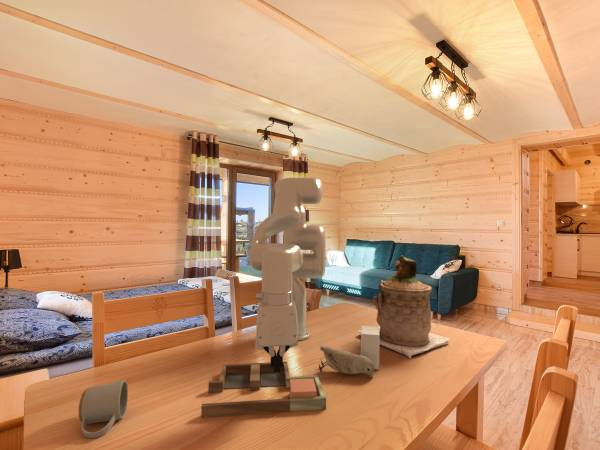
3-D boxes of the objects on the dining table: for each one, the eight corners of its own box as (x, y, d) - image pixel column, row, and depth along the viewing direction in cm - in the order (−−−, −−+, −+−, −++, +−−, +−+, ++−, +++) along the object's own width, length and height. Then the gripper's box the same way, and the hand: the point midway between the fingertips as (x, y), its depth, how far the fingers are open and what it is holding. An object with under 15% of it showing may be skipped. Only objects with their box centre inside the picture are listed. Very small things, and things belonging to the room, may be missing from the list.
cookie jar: (452, 343, 114) (454, 256, 113) (410, 360, 100) (411, 260, 99) (396, 324, 134) (398, 250, 134) (355, 336, 120) (356, 253, 120)
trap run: (214, 373, 90) (214, 365, 90) (311, 368, 94) (311, 360, 94) (201, 417, 70) (201, 406, 70) (326, 408, 74) (326, 398, 74)
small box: (379, 370, 93) (379, 335, 93) (360, 368, 94) (360, 333, 94) (378, 358, 101) (378, 326, 101) (360, 357, 102) (361, 324, 102)
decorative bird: (373, 383, 86) (373, 356, 86) (316, 374, 91) (316, 348, 90) (374, 374, 91) (374, 348, 91) (320, 366, 96) (321, 341, 96)
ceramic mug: (88, 411, 72) (88, 379, 71) (128, 405, 74) (128, 373, 74) (70, 444, 62) (69, 406, 61) (117, 436, 64) (117, 399, 64)
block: (289, 394, 80) (290, 379, 80) (313, 393, 80) (313, 378, 80) (291, 408, 74) (291, 392, 74) (316, 407, 74) (316, 391, 74)
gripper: (245, 303, 73) (245, 379, 74) (309, 301, 75) (308, 375, 76) (246, 294, 80) (246, 364, 81) (304, 292, 82) (303, 360, 83)
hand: (276, 369), depth 78 cm, fingers closed
